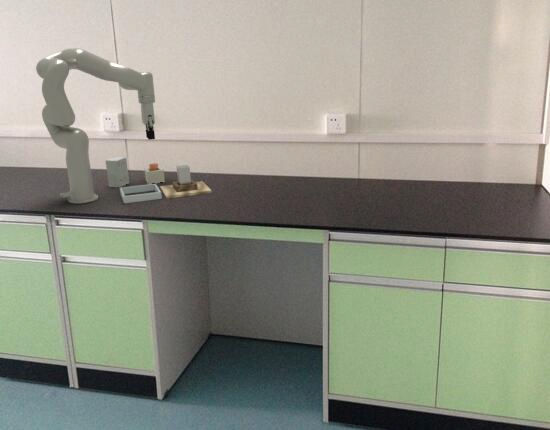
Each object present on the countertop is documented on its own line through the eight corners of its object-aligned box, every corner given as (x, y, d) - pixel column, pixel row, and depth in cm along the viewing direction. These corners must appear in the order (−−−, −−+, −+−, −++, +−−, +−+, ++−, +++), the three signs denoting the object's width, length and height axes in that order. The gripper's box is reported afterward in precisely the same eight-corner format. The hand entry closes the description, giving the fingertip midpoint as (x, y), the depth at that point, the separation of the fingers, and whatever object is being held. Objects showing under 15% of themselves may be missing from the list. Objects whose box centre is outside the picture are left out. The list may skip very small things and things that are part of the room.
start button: (150, 171, 264) (149, 165, 263) (149, 170, 268) (148, 164, 267) (158, 170, 266) (158, 164, 265) (157, 169, 269) (157, 163, 268)
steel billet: (180, 190, 247) (178, 168, 244) (178, 187, 251) (176, 166, 248) (191, 188, 248) (189, 167, 245) (189, 186, 253) (187, 165, 250)
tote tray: (124, 203, 234) (123, 196, 233) (120, 194, 248) (119, 187, 247) (161, 198, 239) (161, 192, 238) (156, 189, 253) (155, 183, 252)
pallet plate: (166, 198, 239) (166, 190, 238) (160, 188, 255) (159, 181, 254) (211, 193, 245) (211, 185, 244) (202, 183, 261) (201, 176, 260)
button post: (148, 184, 264) (146, 172, 262) (145, 180, 271) (144, 168, 269) (164, 182, 266) (163, 170, 264) (162, 178, 273) (160, 166, 271)
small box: (118, 182, 268) (115, 156, 264) (129, 183, 266) (126, 157, 262) (108, 187, 261) (105, 160, 257) (119, 187, 259) (116, 160, 255)
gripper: (136, 98, 262) (140, 136, 268) (140, 101, 247) (145, 142, 253) (152, 97, 265) (156, 135, 271) (157, 100, 250) (161, 140, 255)
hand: (150, 138), depth 262 cm, fingers open, 4 cm apart
